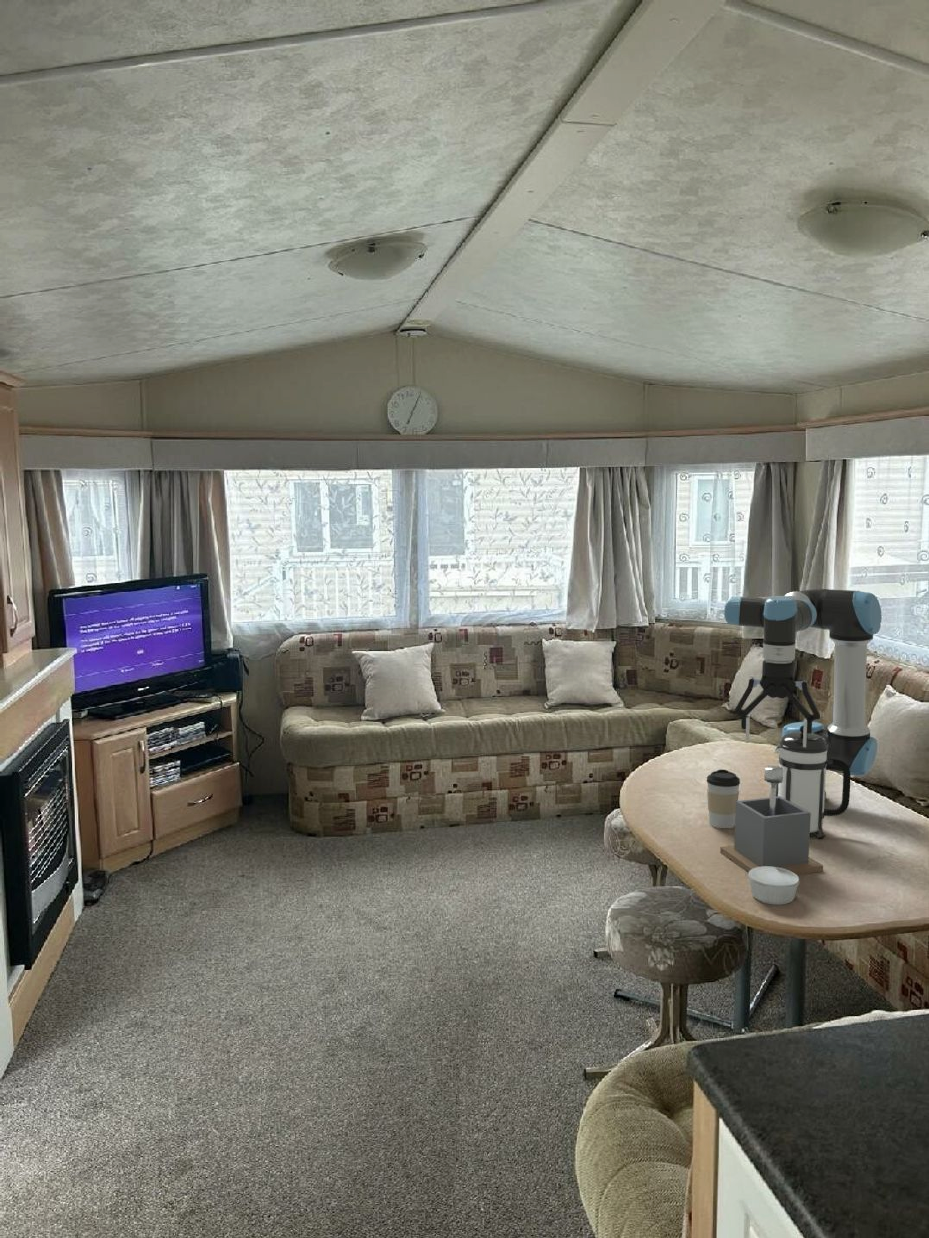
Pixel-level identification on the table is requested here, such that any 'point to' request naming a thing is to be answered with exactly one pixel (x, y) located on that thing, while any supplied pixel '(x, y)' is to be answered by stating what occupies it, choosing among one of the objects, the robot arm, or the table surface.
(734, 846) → the square grey bin
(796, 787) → the coffee press
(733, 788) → the coffee cup
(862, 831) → the table surface
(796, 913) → the table surface
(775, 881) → the ramekin
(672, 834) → the table surface
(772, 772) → the plunger
